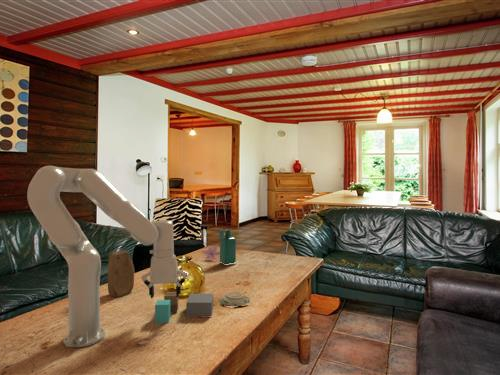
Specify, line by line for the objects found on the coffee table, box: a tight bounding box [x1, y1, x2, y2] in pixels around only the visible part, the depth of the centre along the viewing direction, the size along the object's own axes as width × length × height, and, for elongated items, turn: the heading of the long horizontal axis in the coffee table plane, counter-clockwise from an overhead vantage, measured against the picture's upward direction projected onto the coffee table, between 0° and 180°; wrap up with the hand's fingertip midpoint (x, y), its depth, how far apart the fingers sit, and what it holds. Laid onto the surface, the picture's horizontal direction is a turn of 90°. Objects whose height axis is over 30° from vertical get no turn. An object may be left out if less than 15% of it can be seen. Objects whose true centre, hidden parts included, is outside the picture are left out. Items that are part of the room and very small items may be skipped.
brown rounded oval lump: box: [107, 249, 135, 298], centre depth 155 cm, size 11×8×20 cm
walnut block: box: [163, 291, 179, 314], centre depth 136 cm, size 5×5×7 cm
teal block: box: [154, 299, 171, 324], centre depth 127 cm, size 5×5×7 cm
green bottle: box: [218, 229, 237, 264], centre depth 209 cm, size 10×8×22 cm
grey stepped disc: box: [218, 291, 251, 307], centre depth 147 cm, size 15×4×15 cm
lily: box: [201, 244, 220, 260], centre depth 220 cm, size 12×12×10 cm
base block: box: [185, 293, 215, 318], centre depth 136 cm, size 10×10×6 cm
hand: (165, 296), depth 128 cm, fingers open, 9 cm apart
